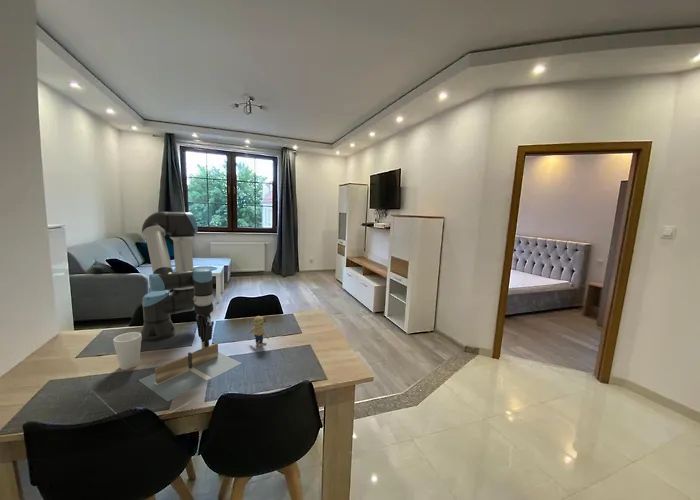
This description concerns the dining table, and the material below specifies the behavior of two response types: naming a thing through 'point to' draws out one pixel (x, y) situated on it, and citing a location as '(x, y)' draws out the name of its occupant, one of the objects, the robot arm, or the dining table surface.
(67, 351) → the dining table surface
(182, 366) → the fixed panel
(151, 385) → the card
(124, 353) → the foam cup
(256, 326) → the toy
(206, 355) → the hinged panel
